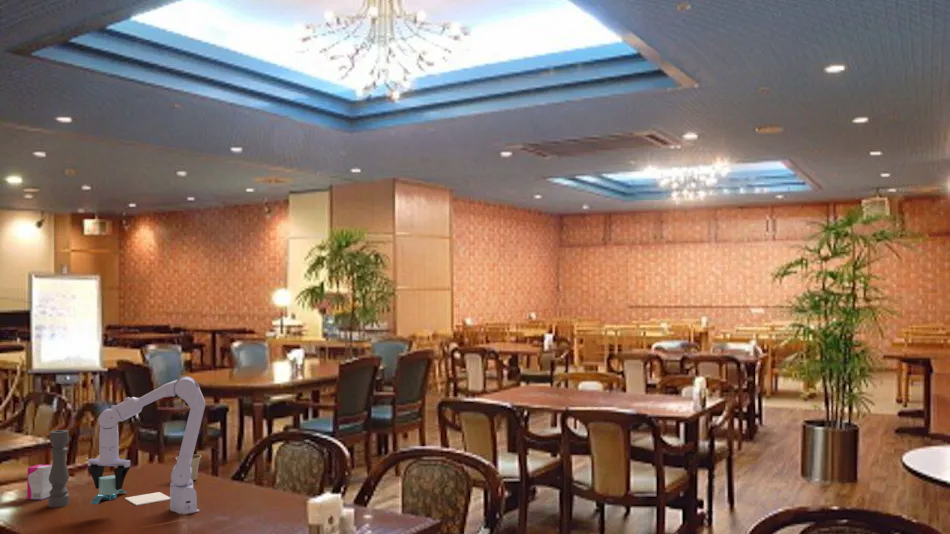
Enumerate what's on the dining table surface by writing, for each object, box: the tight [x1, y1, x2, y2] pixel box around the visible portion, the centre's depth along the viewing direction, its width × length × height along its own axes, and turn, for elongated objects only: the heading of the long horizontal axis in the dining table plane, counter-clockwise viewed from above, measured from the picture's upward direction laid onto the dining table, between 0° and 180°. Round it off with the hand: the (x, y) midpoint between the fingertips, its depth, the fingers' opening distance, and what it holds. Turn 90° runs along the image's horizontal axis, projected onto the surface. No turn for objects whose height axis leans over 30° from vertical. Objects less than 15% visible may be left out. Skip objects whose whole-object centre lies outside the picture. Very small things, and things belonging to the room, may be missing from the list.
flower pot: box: [175, 454, 202, 481], centre depth 307 cm, size 9×9×9 cm
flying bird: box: [89, 488, 128, 505], centre depth 279 cm, size 15×7×4 cm, turn 164°
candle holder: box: [47, 429, 70, 508], centre depth 270 cm, size 6×6×25 cm
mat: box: [124, 491, 170, 507], centre depth 277 cm, size 12×12×1 cm
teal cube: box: [98, 474, 120, 496], centre depth 259 cm, size 5×5×5 cm
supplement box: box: [26, 464, 52, 501], centre depth 279 cm, size 6×6×12 cm
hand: (108, 488), depth 259 cm, fingers closed on teal cube, 7 cm apart
